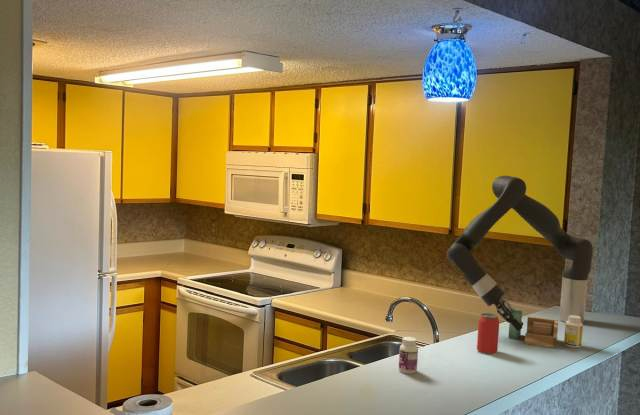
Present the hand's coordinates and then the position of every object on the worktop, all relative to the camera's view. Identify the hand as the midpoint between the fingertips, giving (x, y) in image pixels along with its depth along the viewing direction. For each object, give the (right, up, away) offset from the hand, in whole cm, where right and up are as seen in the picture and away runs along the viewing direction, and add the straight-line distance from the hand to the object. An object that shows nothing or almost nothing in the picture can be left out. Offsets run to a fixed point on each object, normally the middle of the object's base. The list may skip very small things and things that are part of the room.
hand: (520, 327), depth 222 cm
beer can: (-16, -5, -16) cm, 23 cm away
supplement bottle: (+16, -6, -5) cm, 18 cm away
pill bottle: (-45, -6, -38) cm, 59 cm away
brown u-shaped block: (+6, -5, -2) cm, 8 cm away
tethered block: (+3, -4, -1) cm, 5 cm away
